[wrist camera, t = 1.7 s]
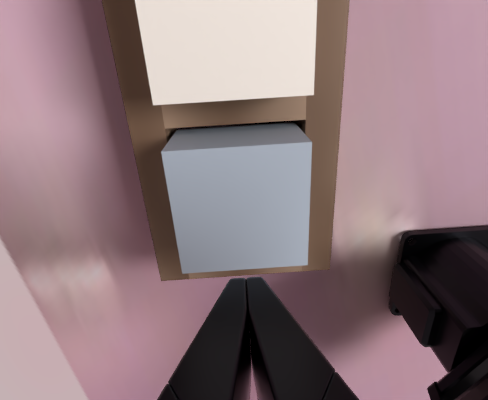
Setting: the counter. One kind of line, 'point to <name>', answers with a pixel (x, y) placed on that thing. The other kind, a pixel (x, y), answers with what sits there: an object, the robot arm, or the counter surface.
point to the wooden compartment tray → (233, 112)
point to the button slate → (239, 196)
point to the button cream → (228, 49)
